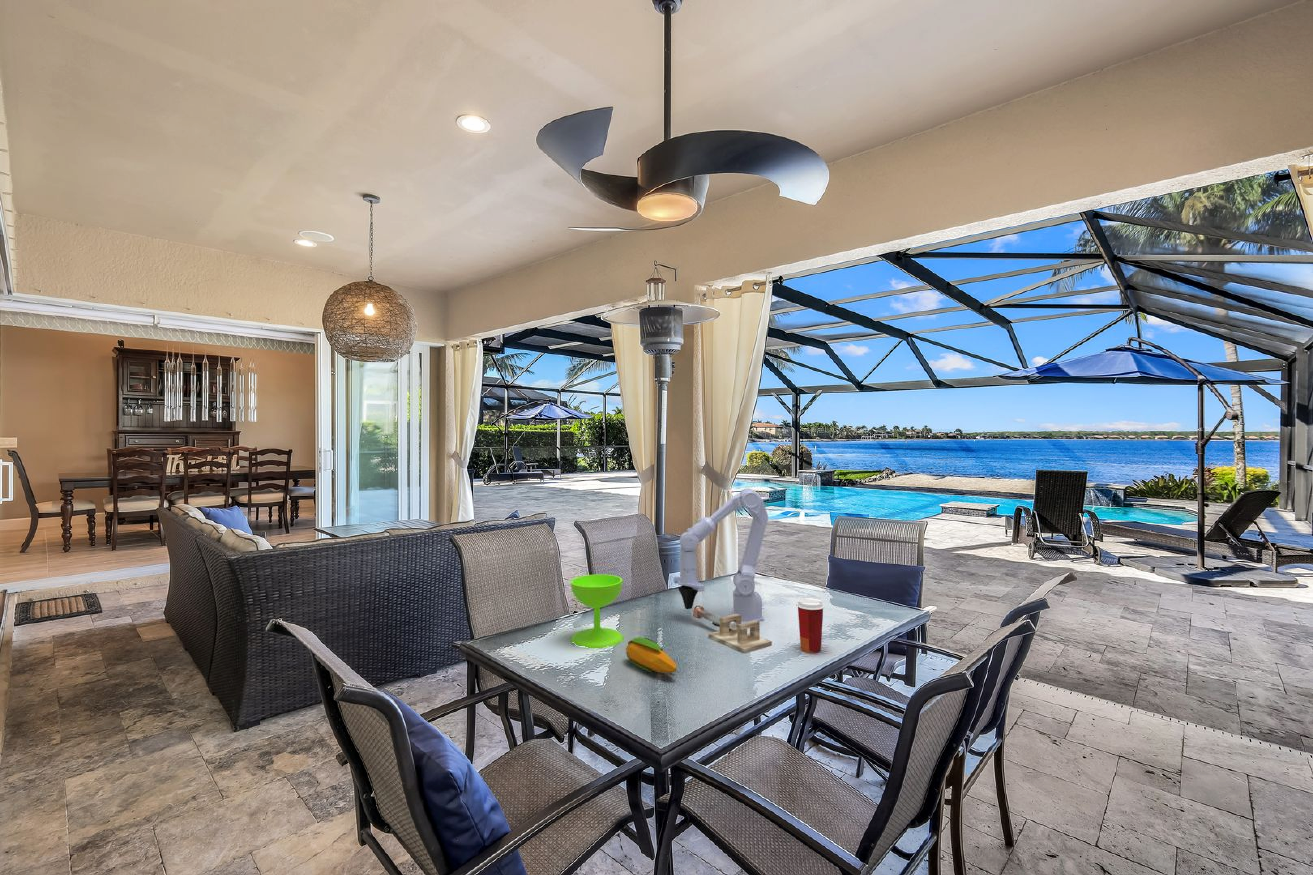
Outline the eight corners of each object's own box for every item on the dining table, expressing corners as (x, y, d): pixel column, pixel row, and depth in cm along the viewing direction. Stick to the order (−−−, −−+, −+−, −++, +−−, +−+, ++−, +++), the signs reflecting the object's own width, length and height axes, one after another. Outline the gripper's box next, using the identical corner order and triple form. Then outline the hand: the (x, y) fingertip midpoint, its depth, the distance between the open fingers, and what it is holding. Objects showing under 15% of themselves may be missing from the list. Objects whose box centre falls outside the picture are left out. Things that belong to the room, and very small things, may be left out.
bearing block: (708, 637, 174) (708, 616, 175) (735, 630, 181) (734, 610, 181) (744, 653, 161) (744, 630, 161) (771, 645, 167) (771, 623, 167)
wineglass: (567, 633, 179) (566, 576, 179) (616, 628, 184) (615, 572, 184) (575, 651, 164) (575, 589, 164) (629, 644, 169) (628, 584, 169)
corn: (640, 628, 161) (686, 648, 145) (641, 654, 161) (688, 677, 145) (618, 636, 156) (664, 657, 140) (620, 663, 156) (666, 687, 141)
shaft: (693, 618, 187) (692, 606, 187) (702, 616, 189) (702, 604, 189) (730, 634, 171) (729, 620, 172) (739, 631, 174) (739, 618, 174)
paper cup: (826, 647, 165) (826, 599, 166) (822, 656, 158) (821, 606, 159) (799, 643, 169) (798, 596, 169) (794, 652, 162) (793, 603, 162)
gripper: (666, 565, 195) (666, 605, 195) (692, 573, 183) (692, 615, 183) (682, 563, 199) (683, 601, 199) (709, 570, 187) (709, 612, 187)
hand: (688, 608), depth 192 cm, fingers closed
